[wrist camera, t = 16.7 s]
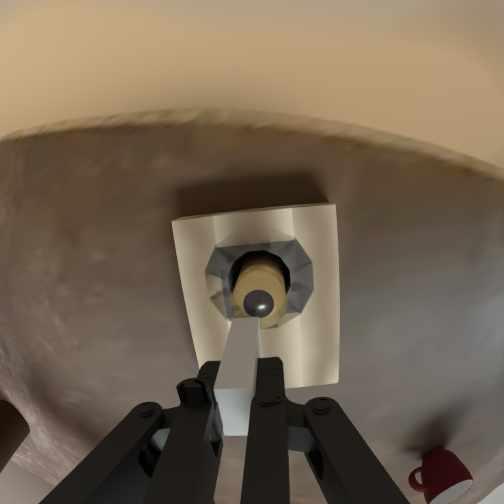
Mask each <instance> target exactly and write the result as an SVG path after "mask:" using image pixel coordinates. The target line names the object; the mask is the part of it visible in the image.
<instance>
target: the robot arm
mask: <svg viewBox="0 0 504 504" xmlns="http://www.w3.org/2000/svg"><path fill="white" fill-rule="evenodd" d="M176 388H177V391H178V395H179V398H180V401H181V403H180V406H178V407H174V408H169V409H162V407H161V406H160V405H159V404H158V403H155V402H144V403H141V404H139V405H137V406H136V407H134V408H133V409H132V410H131V411H130V413H129V414H128V415H127V416H126V417H125V418H124V419H123V420H122V421H121V422H120V423H119V424H118V425H117V426H116V427H115V428H114V429H113V430H112V431H111V432H110V433H109V434H108V435H107V436H106V437H105V438H104V439H103V440H102V441H101V442H100V443H99V444H98V445H97V446H96V447H95V448H94V449H93V450H92V451H91V452H90V453H89V454H88V455H87V456H86V457H85V458H84V459H83V460H82V461H81V462H80V463H79V464H78V465H77V466H76V467H75V468H74V469H73V470H72V471H71V472H70V473H69V474H68V475H67V476H66V477H65V478H64V479H63V480H62V481H61V482H60V483H59V484H58V485H57V486H56V487H55V488H54V489H53V490H52V491H51V492H50V493H49V494H48V495H47V496H46V497H45V498H44V499H43V500H42V501H41V502H40V503H39V504H215V503H214V501H213V497H214V492H215V486H216V481H217V476H218V470H219V465H220V459H221V454H222V448H223V440H222V436H221V435H222V430H223V431H224V435H225V436H239V435H248V436H247V446H246V456H245V465H244V474H243V483H242V492H241V501H240V504H290V483H289V456H288V453H289V452H288V450H293V451H299V452H304V454H305V456H306V459H307V461H308V463H309V465H310V467H311V469H312V471H313V473H314V476H315V478H316V480H317V482H318V484H319V486H320V488H321V490H322V492H323V494H324V496H325V498H326V501H327V503H328V504H410V503H409V501H408V500H407V499H406V497H405V496H404V495H403V493H402V492H401V491H400V489H399V488H398V486H397V485H396V484H395V482H394V481H393V480H392V478H391V477H390V475H389V474H388V473H387V471H386V470H385V469H384V467H383V466H382V464H381V463H380V462H379V460H378V459H377V457H376V456H375V455H374V453H373V452H372V451H371V449H370V448H369V446H368V445H367V444H366V442H365V441H364V439H363V438H362V437H361V435H360V434H359V432H358V431H357V430H356V428H355V427H354V425H353V424H352V422H351V421H350V420H349V418H348V417H347V415H346V414H345V413H344V411H343V410H342V408H341V407H340V405H339V404H338V403H337V402H336V401H335V400H334V399H331V398H329V397H317V398H314V399H311V400H309V401H308V402H307V403H306V404H305V405H302V404H296V403H293V402H291V401H290V400H288V399H287V397H286V396H285V382H284V369H283V361H282V360H281V359H280V358H279V357H266V358H263V349H262V340H261V331H260V322H259V317H248V318H234V319H232V323H231V327H230V330H229V334H228V338H227V341H226V345H225V348H224V352H223V356H222V359H221V361H206V362H205V363H204V364H203V365H202V366H201V368H200V370H199V374H198V376H197V378H189V379H186V380H183V381H182V382H180V383H179V384H178V385H177V387H176ZM145 445H146V446H145Z"/></svg>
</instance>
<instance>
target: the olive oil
mask: <svg viewBox="0 0 504 504" xmlns="http://www.w3.org/2000/svg"><path fill="white" fill-rule="evenodd" d="M29 432H30V429H29V426H28V424H27V422H26V421H25V419H24V418H23V417H22V415H21V414H20V413H19V412H18V411H17V410H16V409H15V408H14V407H13V406H12V405H11V404H9V403H8V402H6V401H4V400H0V473H1V471H2V470H3V468H4V467H5V465H6V464H7V463H8V461H9V460H10V458H11V457H12V455H13V454H14V453H15V451H16V450H17V448H18V447H19V446H20V444H21V443H22V442H23V441H24V439H25V438H26V437H27V435H28V434H29Z"/></svg>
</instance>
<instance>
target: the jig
mask: <svg viewBox="0 0 504 504" xmlns="http://www.w3.org/2000/svg"><path fill="white" fill-rule="evenodd" d="M172 227H173V234H174V241H175V247H176V253H177V259H178V265H179V271H180V277H181V282H182V288H183V293H184V299H185V304H186V309H187V314H188V319H189V324H190V329H191V333H192V338H193V342H194V347H195V351H196V356H197V360H198V365H199V369H200V368H201V366H202V365H203V364H204V363H205V362H206V361H221V359H222V356H223V352H224V348H225V345H226V341H227V338H228V334H229V330H230V327H231V323H232V319H234V318H236V317H235V316H234V314H233V312H232V308H231V297H232V294H233V291H234V288H235V285H236V283H235V281H234V278H233V270H232V265H233V263H234V261H235V260H236V259H238V258H239V257H240V256H242V255H243V254H245V253H246V252H248V251H258V250H266V251H268V252H270V253H273V254H275V255H277V256H279V257H281V259H282V260H283V261H284V263H285V264H286V266H287V267H288V268H289V277H288V279H287V281H286V283H285V292H286V300H287V306H286V311H285V313H284V315H283V317H282V318H281V320H280V321H279V322H277V323H276V324H274V325H273V326H271V327H268V328H263V329H260V331H261V340H262V349H263V358H266V357H279V358H280V359H281V360H282V361H283V369H284V382H285V388H295V387H305V386H315V385H324V384H332V383H338V370H339V333H340V297H339V259H338V237H337V220H336V206H335V204H333V203H330V202H323V203H311V204H299V205H288V206H277V207H267V208H257V209H247V210H238V211H229V212H220V213H211V214H203V215H195V216H187V217H181V218H178V219H176V220H173V221H172Z"/></svg>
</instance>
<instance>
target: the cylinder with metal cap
mask: <svg viewBox="0 0 504 504" xmlns="http://www.w3.org/2000/svg"><path fill="white" fill-rule="evenodd" d="M286 306H287V300H286V292H285V283H284V275H283V268H282V264H281V262H280V261H279V259H278V258H277V257H276V256H274V255H273V254H271V253H268V252H256V253H253V254H251V255H250V256H248V257H247V258H246V260H245V261H244V263H243V265H242V268H241V271H240V274H239V277H238V279H237V282H236V285H235V288H234V291H233V294H232V297H231V308H232V312H233V314H234V316H235V317H236V318H248V317H259V322H260V329H263V328H268V327H271V326H273V325H274V324H276V323H277V322H279V321H280V320H281V318H282V317H283V315H284V313H285V311H286Z"/></svg>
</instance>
